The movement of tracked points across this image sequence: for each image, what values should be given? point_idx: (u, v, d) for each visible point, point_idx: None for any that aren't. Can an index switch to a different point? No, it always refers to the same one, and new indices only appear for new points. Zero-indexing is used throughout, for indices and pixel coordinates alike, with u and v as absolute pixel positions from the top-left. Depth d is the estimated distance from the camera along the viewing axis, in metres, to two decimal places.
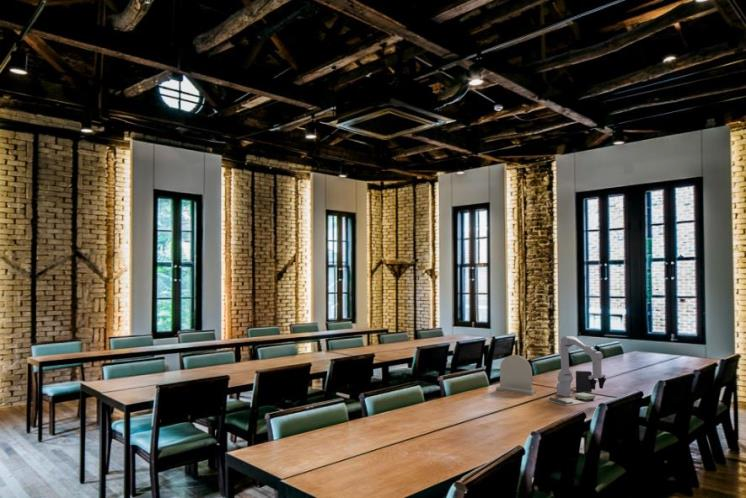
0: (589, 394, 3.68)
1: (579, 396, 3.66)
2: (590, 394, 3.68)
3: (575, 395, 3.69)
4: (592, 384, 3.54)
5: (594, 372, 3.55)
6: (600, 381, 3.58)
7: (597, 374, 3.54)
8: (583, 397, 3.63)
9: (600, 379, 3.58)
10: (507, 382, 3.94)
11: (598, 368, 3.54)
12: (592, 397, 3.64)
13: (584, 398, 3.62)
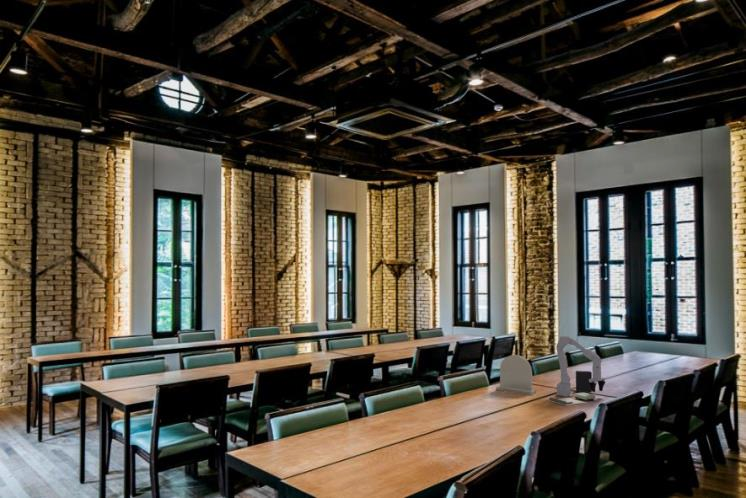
0: (589, 394, 3.68)
1: (579, 396, 3.66)
2: (590, 394, 3.68)
3: (575, 395, 3.69)
4: (592, 387, 3.73)
5: (594, 375, 3.73)
6: (600, 384, 3.76)
7: (597, 377, 3.72)
8: (583, 397, 3.63)
9: (600, 382, 3.76)
10: (507, 382, 3.94)
11: (600, 371, 3.73)
12: (592, 397, 3.64)
13: (584, 398, 3.62)
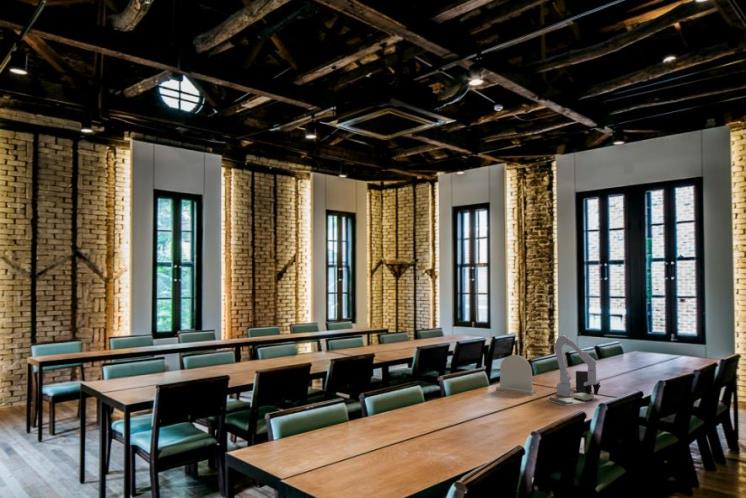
0: (588, 394, 3.68)
1: (578, 396, 3.65)
2: (589, 394, 3.68)
3: (574, 395, 3.68)
4: (587, 390, 3.70)
5: (589, 379, 3.71)
6: (595, 387, 3.74)
7: (592, 381, 3.70)
8: (582, 397, 3.62)
9: (595, 385, 3.74)
10: (507, 382, 3.94)
11: (595, 375, 3.70)
12: (590, 397, 3.64)
13: (583, 398, 3.61)
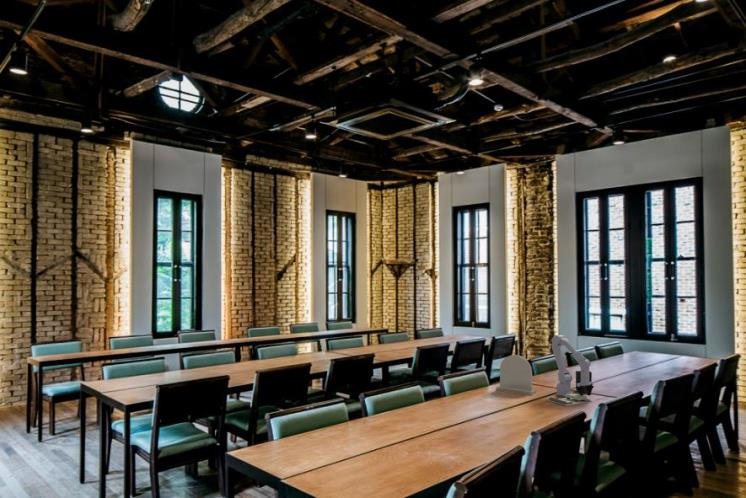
0: (581, 395, 3.64)
1: (570, 396, 3.62)
2: None
3: (566, 395, 3.65)
4: (580, 391, 3.67)
5: (582, 380, 3.68)
6: (588, 388, 3.71)
7: (585, 381, 3.66)
8: (574, 397, 3.59)
9: (588, 386, 3.71)
10: (507, 382, 3.94)
11: (587, 376, 3.66)
12: (583, 398, 3.60)
13: (575, 398, 3.58)
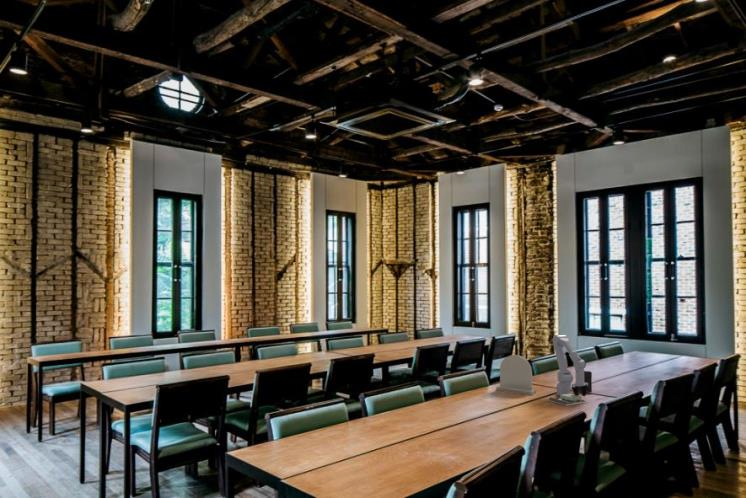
0: (575, 395, 3.62)
1: (565, 397, 3.59)
2: (576, 395, 3.62)
3: (561, 396, 3.63)
4: (575, 392, 3.65)
5: (577, 380, 3.65)
6: (583, 389, 3.68)
7: (580, 382, 3.64)
8: (569, 398, 3.56)
9: (583, 387, 3.68)
10: (507, 382, 3.94)
11: (580, 376, 3.64)
12: (578, 398, 3.58)
13: (570, 399, 3.56)
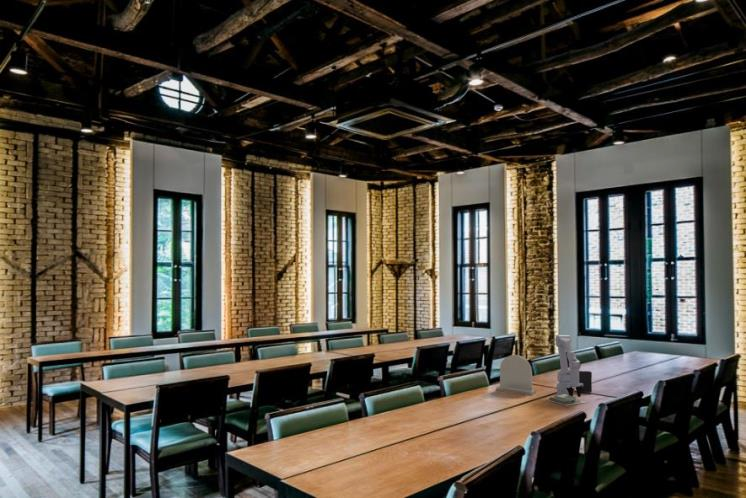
0: (570, 396, 3.60)
1: (560, 398, 3.57)
2: (571, 396, 3.60)
3: (556, 397, 3.60)
4: (570, 392, 3.62)
5: (572, 381, 3.63)
6: (578, 389, 3.66)
7: (575, 383, 3.62)
8: (564, 399, 3.54)
9: (578, 387, 3.66)
10: (507, 382, 3.94)
11: (574, 377, 3.62)
12: (573, 398, 3.56)
13: (565, 400, 3.53)
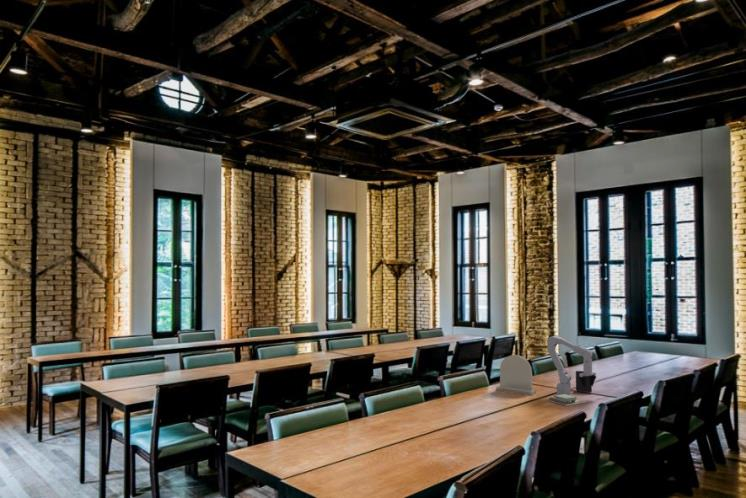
0: (570, 396, 3.60)
1: (560, 398, 3.57)
2: (571, 396, 3.60)
3: (556, 397, 3.60)
4: (583, 381, 3.70)
5: (585, 370, 3.71)
6: (591, 379, 3.74)
7: (588, 372, 3.70)
8: (564, 399, 3.54)
9: (591, 377, 3.74)
10: (507, 382, 3.94)
11: (590, 366, 3.70)
12: (573, 398, 3.56)
13: (565, 400, 3.53)
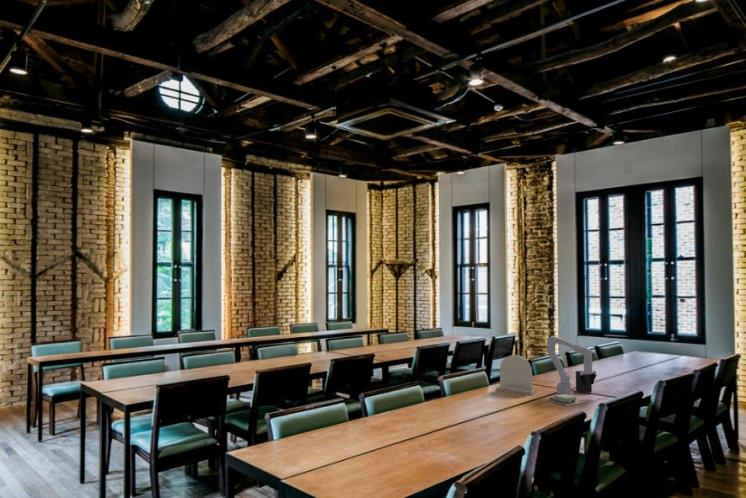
0: (570, 396, 3.60)
1: (560, 398, 3.57)
2: (571, 396, 3.60)
3: (556, 397, 3.60)
4: (583, 380, 3.73)
5: (585, 368, 3.74)
6: (591, 377, 3.77)
7: (588, 370, 3.72)
8: (564, 399, 3.54)
9: (591, 375, 3.77)
10: (507, 382, 3.94)
11: (591, 364, 3.73)
12: (573, 398, 3.56)
13: (565, 400, 3.53)
